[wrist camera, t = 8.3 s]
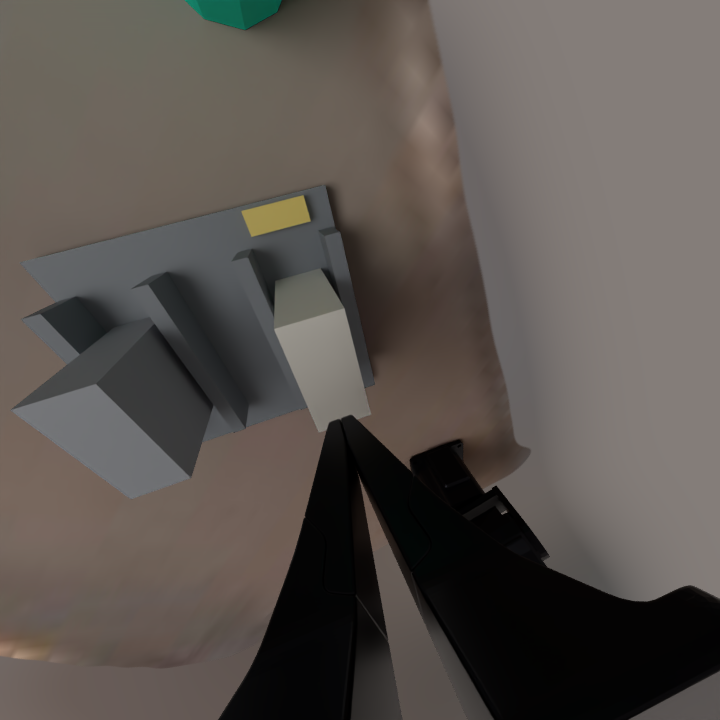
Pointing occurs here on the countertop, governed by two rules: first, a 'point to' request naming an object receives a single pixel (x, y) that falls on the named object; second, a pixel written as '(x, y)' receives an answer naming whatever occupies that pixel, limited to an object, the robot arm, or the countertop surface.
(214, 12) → the candle
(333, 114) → the countertop surface
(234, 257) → the rack
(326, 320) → the block
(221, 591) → the countertop surface
